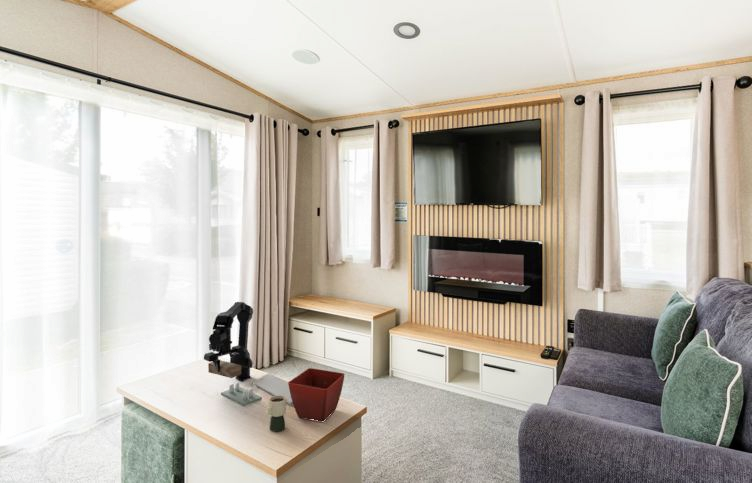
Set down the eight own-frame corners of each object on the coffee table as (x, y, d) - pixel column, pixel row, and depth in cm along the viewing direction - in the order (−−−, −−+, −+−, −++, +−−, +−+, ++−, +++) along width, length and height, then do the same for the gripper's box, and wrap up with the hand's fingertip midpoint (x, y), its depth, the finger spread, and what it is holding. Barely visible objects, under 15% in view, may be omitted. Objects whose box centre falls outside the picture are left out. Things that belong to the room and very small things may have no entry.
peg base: (238, 388, 208) (238, 378, 208) (261, 399, 196) (261, 389, 196) (221, 394, 201) (220, 384, 200) (243, 406, 188) (243, 395, 188)
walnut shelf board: (241, 374, 197) (241, 365, 197) (231, 378, 192) (231, 369, 192) (218, 368, 205) (218, 359, 205) (208, 372, 199) (208, 363, 199)
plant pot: (326, 428, 169) (326, 389, 168) (287, 420, 175) (287, 382, 175) (345, 408, 187) (345, 373, 186) (309, 402, 193) (309, 367, 192)
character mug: (279, 421, 174) (279, 392, 174) (292, 425, 171) (292, 395, 170) (261, 432, 165) (261, 401, 164) (274, 437, 161) (274, 405, 161)
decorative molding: (292, 411, 190) (308, 399, 196) (290, 403, 188) (306, 391, 195) (255, 390, 213) (271, 380, 220) (252, 382, 212) (268, 372, 219)
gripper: (233, 332, 210) (233, 361, 211) (198, 340, 196) (198, 371, 196) (244, 336, 203) (245, 366, 204) (209, 344, 189) (209, 377, 189)
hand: (224, 370), depth 198 cm, fingers closed on walnut shelf board, 6 cm apart
